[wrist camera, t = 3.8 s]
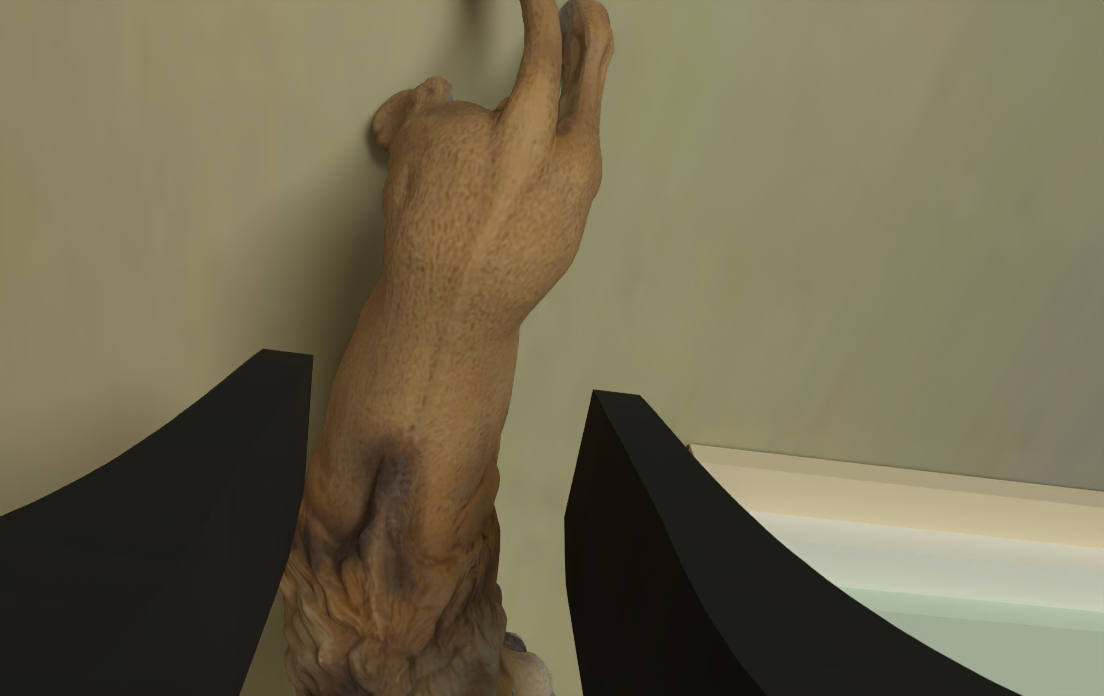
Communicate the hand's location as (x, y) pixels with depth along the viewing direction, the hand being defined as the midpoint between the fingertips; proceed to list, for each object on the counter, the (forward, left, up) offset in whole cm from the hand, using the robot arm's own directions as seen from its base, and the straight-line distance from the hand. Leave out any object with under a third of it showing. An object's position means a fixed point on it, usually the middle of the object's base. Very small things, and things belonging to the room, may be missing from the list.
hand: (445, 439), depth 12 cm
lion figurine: (0, 0, -6) cm, 6 cm away
